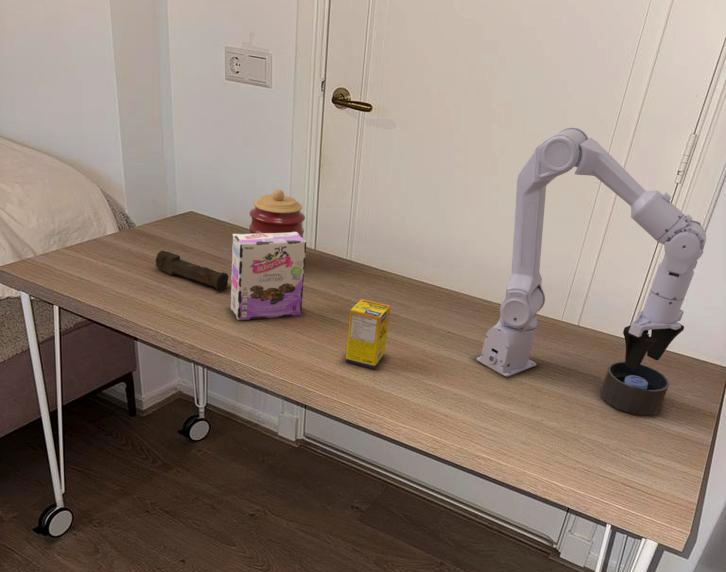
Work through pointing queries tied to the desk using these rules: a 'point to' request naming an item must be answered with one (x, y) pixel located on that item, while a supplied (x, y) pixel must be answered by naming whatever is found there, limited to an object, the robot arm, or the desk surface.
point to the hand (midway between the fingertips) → (641, 362)
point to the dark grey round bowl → (634, 389)
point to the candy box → (267, 275)
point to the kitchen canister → (276, 214)
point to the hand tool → (191, 270)
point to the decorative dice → (636, 382)
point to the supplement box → (367, 333)
